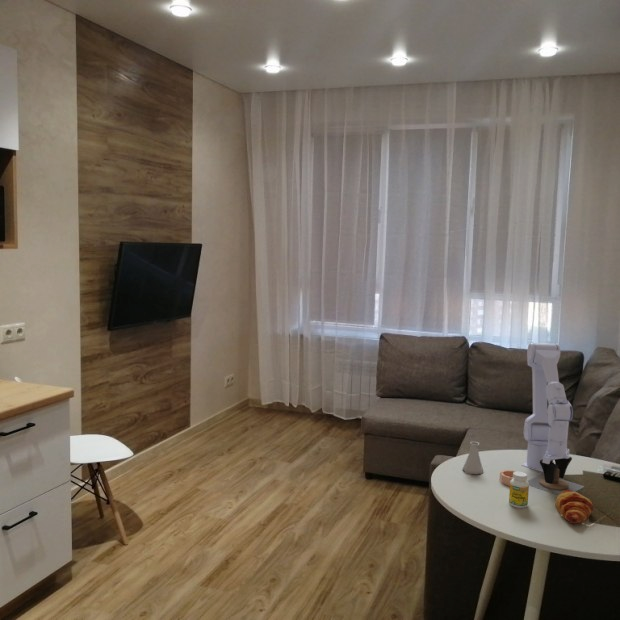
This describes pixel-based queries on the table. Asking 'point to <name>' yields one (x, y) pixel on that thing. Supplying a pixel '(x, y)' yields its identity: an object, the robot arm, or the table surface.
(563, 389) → the robot arm
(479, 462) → the flask
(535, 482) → the mat
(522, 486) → the supplement bottle
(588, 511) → the croissant
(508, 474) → the bowl
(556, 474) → the lid
